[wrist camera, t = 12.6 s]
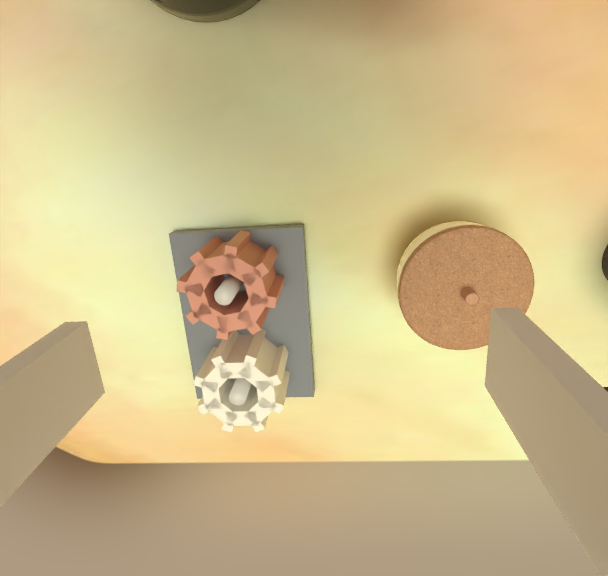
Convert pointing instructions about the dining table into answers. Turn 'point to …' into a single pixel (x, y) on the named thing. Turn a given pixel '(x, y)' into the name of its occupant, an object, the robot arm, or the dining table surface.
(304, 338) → the gear board
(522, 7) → the dining table surface
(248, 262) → the gear
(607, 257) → the coffee cup
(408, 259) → the lidded jar
